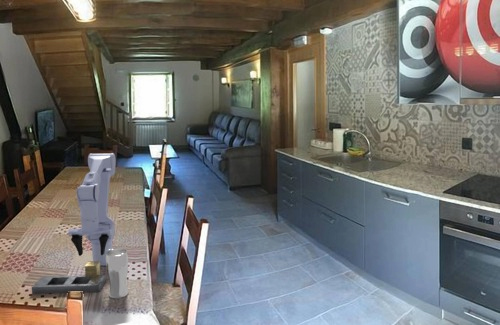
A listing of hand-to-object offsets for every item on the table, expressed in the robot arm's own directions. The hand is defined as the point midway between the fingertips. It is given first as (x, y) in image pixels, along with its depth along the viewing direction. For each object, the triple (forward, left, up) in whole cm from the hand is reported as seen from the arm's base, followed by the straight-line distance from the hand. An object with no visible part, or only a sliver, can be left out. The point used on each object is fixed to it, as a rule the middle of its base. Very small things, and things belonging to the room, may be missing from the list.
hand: (91, 254), depth 144 cm
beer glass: (+12, +12, -10) cm, 19 cm away
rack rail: (+6, -6, -9) cm, 13 cm away
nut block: (0, 0, -10) cm, 10 cm away
